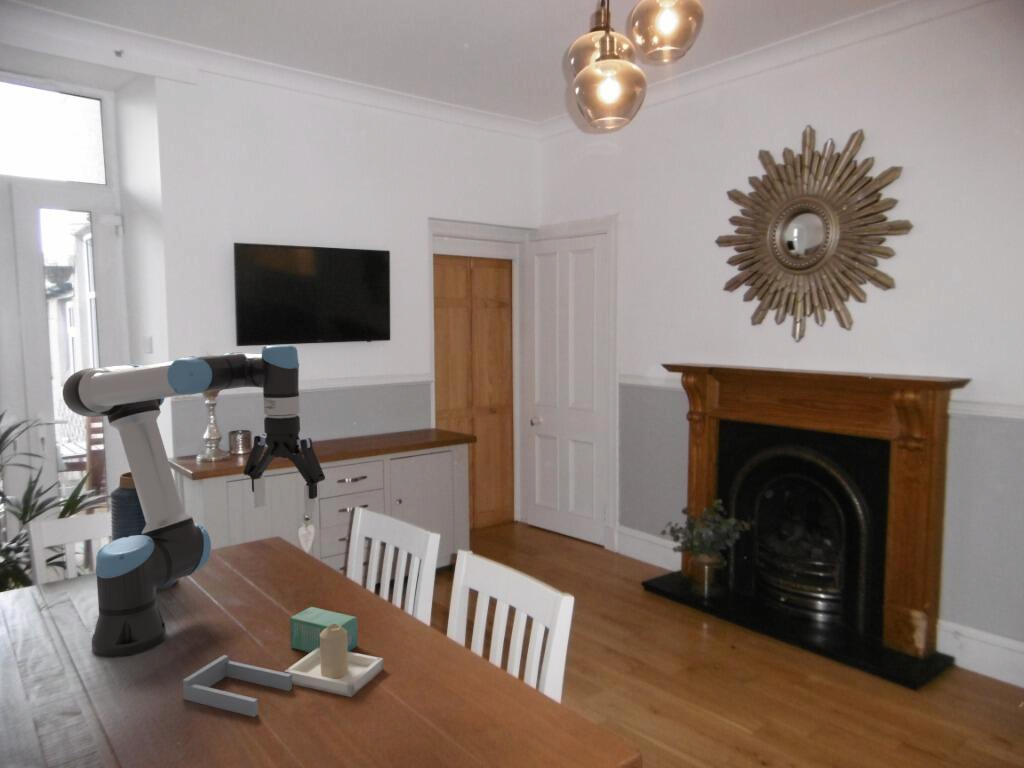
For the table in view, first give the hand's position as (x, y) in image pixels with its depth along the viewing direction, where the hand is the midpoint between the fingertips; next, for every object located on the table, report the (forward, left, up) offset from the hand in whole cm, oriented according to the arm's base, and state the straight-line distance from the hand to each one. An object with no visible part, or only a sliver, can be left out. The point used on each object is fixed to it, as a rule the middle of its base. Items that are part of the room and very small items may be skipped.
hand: (284, 509), depth 161 cm
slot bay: (+5, -21, -32) cm, 38 cm away
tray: (+18, -8, -32) cm, 37 cm away
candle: (+18, -8, -31) cm, 37 cm away
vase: (-60, +15, -32) cm, 70 cm away
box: (+8, +2, -32) cm, 33 cm away
